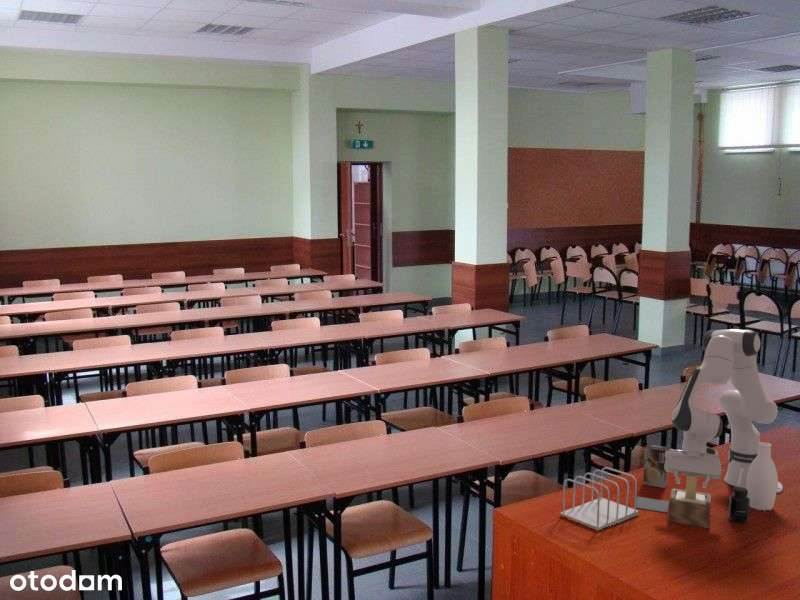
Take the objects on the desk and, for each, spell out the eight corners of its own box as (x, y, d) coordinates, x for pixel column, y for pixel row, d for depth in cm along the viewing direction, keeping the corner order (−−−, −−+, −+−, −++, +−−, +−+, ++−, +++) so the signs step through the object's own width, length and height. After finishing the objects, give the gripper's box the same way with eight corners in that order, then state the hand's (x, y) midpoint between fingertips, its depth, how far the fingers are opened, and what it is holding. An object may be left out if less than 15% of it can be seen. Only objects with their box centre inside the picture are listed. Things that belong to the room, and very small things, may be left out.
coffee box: (667, 483, 326) (669, 446, 324) (665, 488, 320) (667, 451, 318) (645, 479, 330) (647, 443, 328) (642, 484, 324) (644, 447, 322)
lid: (705, 497, 292) (706, 474, 290) (704, 506, 282) (705, 483, 281) (677, 493, 295) (678, 470, 294) (675, 502, 286) (676, 478, 285)
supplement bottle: (739, 524, 284) (742, 493, 283) (724, 518, 290) (726, 487, 289) (752, 521, 287) (754, 490, 286) (736, 515, 293) (739, 484, 292)
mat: (669, 502, 305) (669, 501, 305) (666, 513, 294) (666, 512, 294) (637, 497, 309) (637, 496, 309) (634, 507, 298) (634, 506, 298)
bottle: (745, 509, 299) (750, 446, 296) (743, 499, 309) (748, 438, 306) (777, 514, 295) (782, 449, 292) (774, 503, 305) (779, 441, 302)
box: (709, 514, 293) (711, 494, 292) (708, 528, 281) (710, 507, 280) (670, 508, 299) (672, 488, 298) (668, 521, 286) (669, 500, 285)
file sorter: (600, 501, 304) (602, 463, 303) (638, 516, 291) (641, 476, 289) (559, 517, 289) (561, 476, 287) (597, 532, 275) (600, 490, 273)
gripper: (665, 444, 297) (661, 476, 289) (722, 451, 289) (720, 485, 281) (665, 452, 302) (661, 484, 294) (722, 459, 294) (719, 493, 286)
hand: (691, 485), depth 288 cm, fingers open, 8 cm apart
